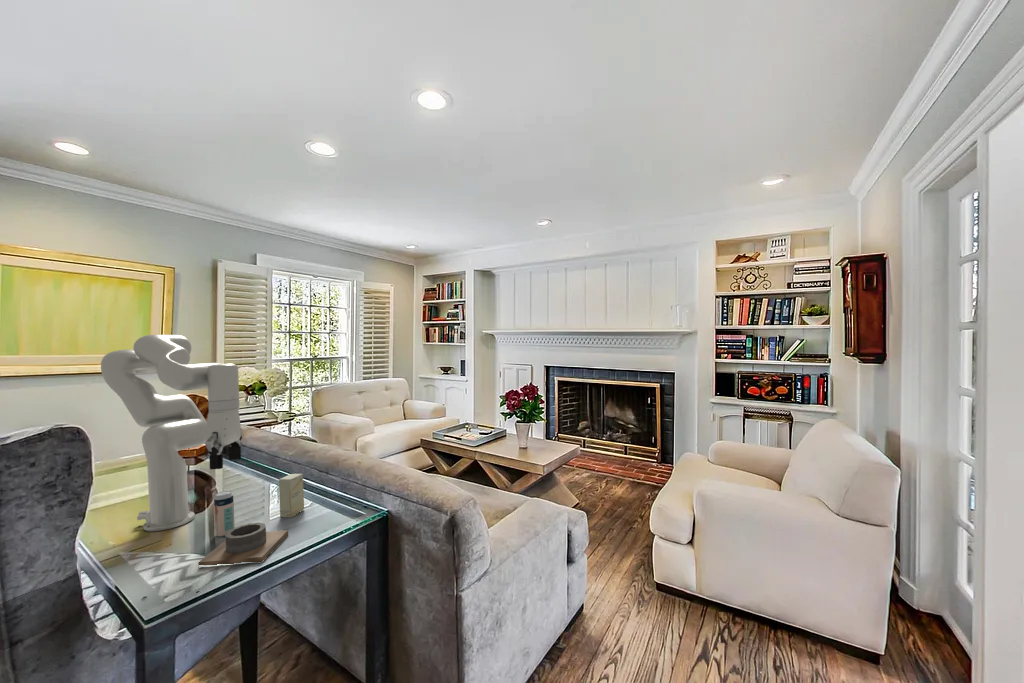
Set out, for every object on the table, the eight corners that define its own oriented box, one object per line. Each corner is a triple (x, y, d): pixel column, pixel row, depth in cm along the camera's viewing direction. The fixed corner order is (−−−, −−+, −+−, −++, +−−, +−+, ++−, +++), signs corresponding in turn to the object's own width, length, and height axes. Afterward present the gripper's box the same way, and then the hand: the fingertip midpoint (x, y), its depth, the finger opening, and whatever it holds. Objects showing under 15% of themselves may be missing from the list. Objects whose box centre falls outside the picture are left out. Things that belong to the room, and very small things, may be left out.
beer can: (221, 531, 125) (219, 490, 125) (238, 529, 125) (236, 489, 125) (211, 538, 120) (209, 496, 120) (228, 537, 120) (227, 495, 120)
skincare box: (291, 518, 132) (289, 479, 132) (279, 517, 133) (277, 479, 133) (305, 510, 138) (303, 473, 138) (293, 509, 139) (291, 473, 139)
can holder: (198, 568, 104) (197, 546, 104) (232, 539, 118) (231, 520, 118) (262, 562, 105) (261, 540, 105) (288, 535, 120) (287, 516, 120)
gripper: (226, 402, 131) (228, 456, 131) (191, 411, 114) (193, 474, 114) (252, 400, 132) (254, 455, 132) (221, 409, 115) (223, 472, 115)
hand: (226, 463), depth 123 cm, fingers open, 9 cm apart
